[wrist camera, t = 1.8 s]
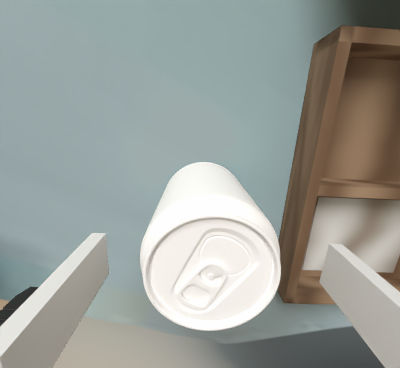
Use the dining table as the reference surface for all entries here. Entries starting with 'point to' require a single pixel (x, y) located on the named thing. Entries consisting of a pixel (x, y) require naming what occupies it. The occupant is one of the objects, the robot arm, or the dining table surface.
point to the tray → (345, 163)
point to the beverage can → (209, 251)
